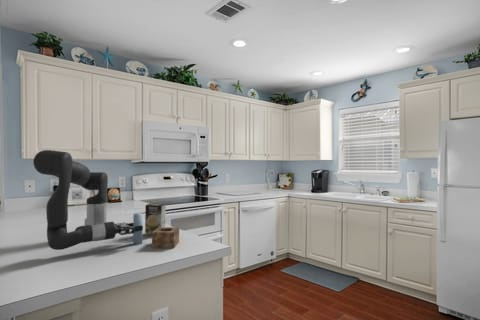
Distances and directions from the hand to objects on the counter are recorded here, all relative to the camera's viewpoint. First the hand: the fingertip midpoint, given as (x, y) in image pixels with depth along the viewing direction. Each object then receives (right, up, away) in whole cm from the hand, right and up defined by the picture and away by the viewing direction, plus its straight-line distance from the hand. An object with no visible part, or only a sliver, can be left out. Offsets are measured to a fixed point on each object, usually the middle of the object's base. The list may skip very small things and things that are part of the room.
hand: (139, 226), depth 134 cm
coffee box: (+3, -8, +16) cm, 19 cm away
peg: (-1, -8, -1) cm, 8 cm away
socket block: (+13, -8, -3) cm, 16 cm away
